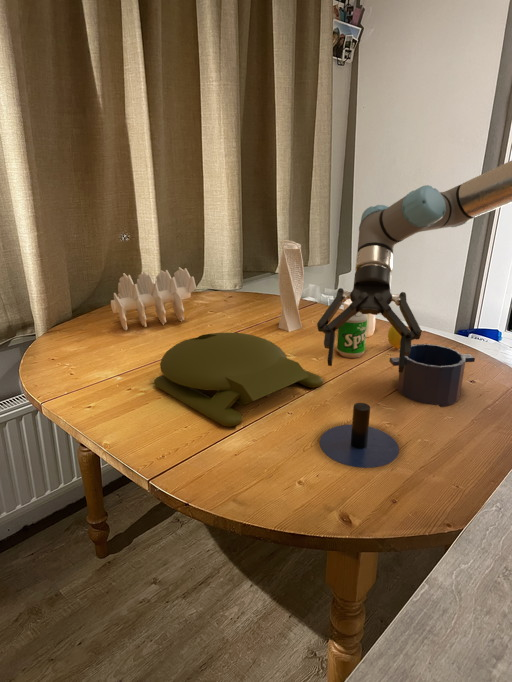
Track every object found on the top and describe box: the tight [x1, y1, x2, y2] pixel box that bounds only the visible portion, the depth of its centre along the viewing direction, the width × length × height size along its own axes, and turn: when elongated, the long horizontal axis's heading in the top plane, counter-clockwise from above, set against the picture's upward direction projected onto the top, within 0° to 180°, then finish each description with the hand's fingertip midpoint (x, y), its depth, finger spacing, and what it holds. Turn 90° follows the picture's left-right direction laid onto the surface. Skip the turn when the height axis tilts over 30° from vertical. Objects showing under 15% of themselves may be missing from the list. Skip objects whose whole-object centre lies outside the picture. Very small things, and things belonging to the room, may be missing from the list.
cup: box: [342, 298, 376, 339], centre depth 151 cm, size 10×10×10 cm
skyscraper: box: [277, 239, 305, 333], centre depth 153 cm, size 8×8×28 cm
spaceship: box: [153, 331, 324, 427], centre depth 119 cm, size 35×31×10 cm
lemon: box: [387, 325, 401, 350], centre depth 139 cm, size 6×6×8 cm
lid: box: [319, 402, 400, 469], centre depth 92 cm, size 15×15×9 cm
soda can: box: [336, 310, 367, 359], centre depth 135 cm, size 8×8×12 cm
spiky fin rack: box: [110, 266, 198, 331], centre depth 159 cm, size 18×18×25 cm
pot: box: [389, 343, 476, 408], centre depth 114 cm, size 14×19×10 cm
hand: (364, 366), depth 97 cm, fingers open, 13 cm apart
